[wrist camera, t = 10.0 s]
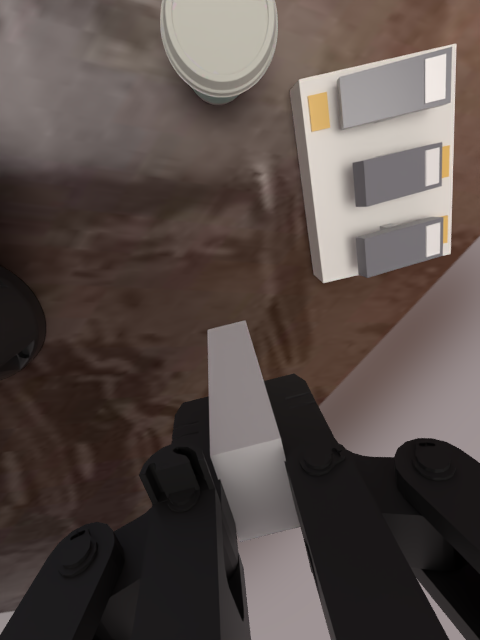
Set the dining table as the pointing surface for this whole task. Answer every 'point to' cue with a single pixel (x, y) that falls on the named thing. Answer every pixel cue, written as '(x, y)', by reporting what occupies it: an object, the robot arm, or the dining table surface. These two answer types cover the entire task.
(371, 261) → the switch
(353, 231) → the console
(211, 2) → the coffee cup
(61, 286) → the dining table surface
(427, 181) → the switch
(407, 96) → the switch
